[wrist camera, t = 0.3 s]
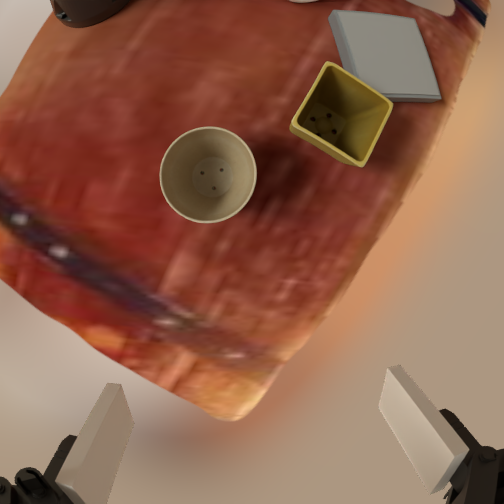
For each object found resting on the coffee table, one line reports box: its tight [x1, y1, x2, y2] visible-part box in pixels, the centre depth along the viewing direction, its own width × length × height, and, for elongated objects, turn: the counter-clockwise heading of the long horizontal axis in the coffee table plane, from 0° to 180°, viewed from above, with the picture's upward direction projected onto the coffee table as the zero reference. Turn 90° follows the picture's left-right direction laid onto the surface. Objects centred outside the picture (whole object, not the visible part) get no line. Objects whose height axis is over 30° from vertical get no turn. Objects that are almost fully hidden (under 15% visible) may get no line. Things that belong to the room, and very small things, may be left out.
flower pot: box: [290, 61, 393, 167], centre depth 32 cm, size 9×9×9 cm
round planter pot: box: [160, 127, 257, 223], centre depth 33 cm, size 10×10×7 cm
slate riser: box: [328, 10, 441, 103], centre depth 32 cm, size 14×14×3 cm
